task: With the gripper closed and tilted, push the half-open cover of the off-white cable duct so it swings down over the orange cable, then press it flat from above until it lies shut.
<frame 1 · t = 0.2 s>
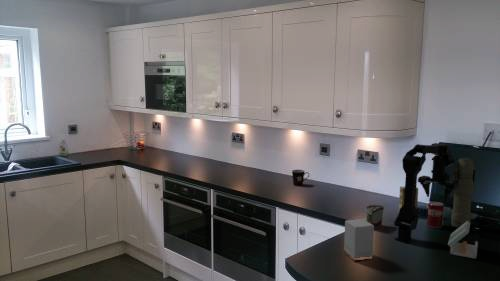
hand: (436, 198, 216), 15 cm above the worktop, tool pointing down, fingers open, 9 cm apart
candy box: (407, 214, 238), on the worktop
duct cover: (459, 233, 189), point 8 cm above the worktop, hinge at 50.0°
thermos: (460, 225, 221), on the worktop
supplement box: (357, 256, 183), on the worktop
food container: (371, 226, 220), on the worktop
coffee mug: (300, 185, 299), on the worktop
cable duct: (463, 250, 189), on the worktop
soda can: (434, 226, 220), on the worktop
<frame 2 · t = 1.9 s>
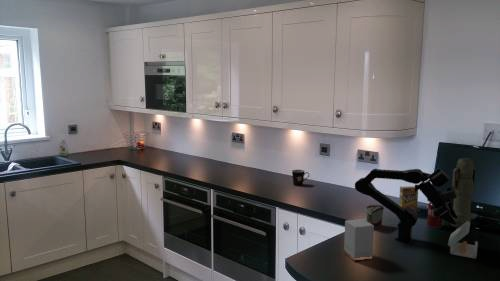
hand: (456, 221, 189), 13 cm above the worktop, tool tilted 45°, fingers open, 9 cm apart
nothing on the worktop moved.
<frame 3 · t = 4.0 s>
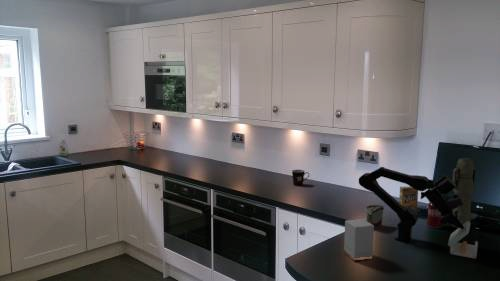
hand: (463, 228, 188), 10 cm above the worktop, tool tilted 45°, fingers closed, pressing on duct cover
duct cover: (459, 233, 189), point 7 cm above the worktop, hinge at 49.4°, touching gripper
everything else where it was.
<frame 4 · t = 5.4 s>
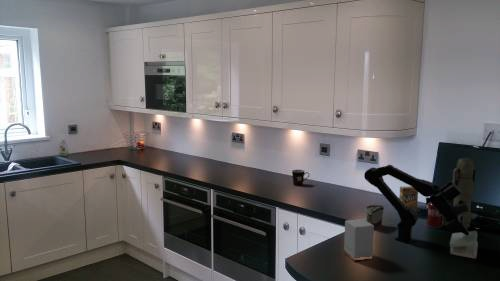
hand: (468, 234, 187), 8 cm above the worktop, tool tilted 45°, fingers closed
duct cover: (463, 238, 188), point 5 cm above the worktop, hinge at 18.2°
everything else where it was.
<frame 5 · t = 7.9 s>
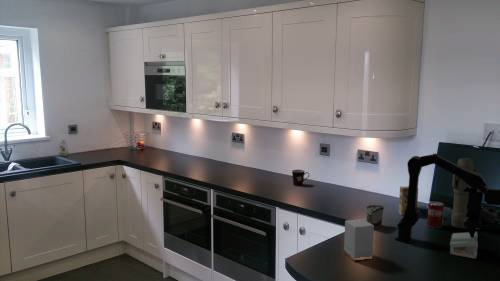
hand: (472, 237, 186), 7 cm above the worktop, tool pointing down, fingers closed, pressing on duct cover
duct cover: (463, 239, 188), point 5 cm above the worktop, hinge at 14.9°, touching gripper
everything else where it was.
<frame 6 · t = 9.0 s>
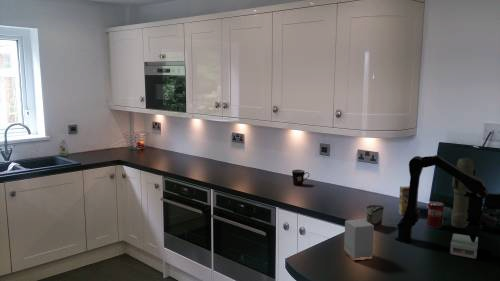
hand: (473, 241, 186), 5 cm above the worktop, tool pointing down, fingers closed, pressing on duct cover
duct cover: (464, 242, 188), point 4 cm above the worktop, hinge at 1.4°, touching gripper
everything else where it was.
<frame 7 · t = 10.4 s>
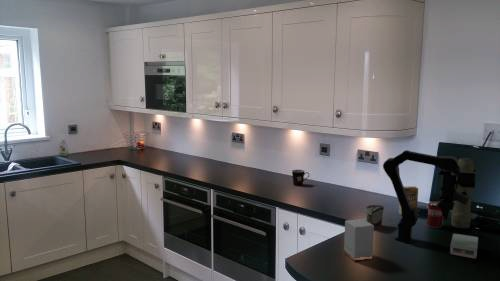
hand: (445, 219, 191), 13 cm above the worktop, tool pointing down, fingers closed
duct cover: (464, 242, 188), point 4 cm above the worktop, hinge at 1.3°
everything else where it was.
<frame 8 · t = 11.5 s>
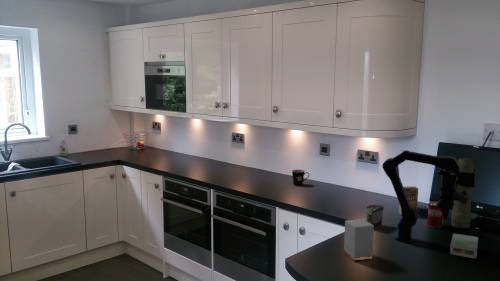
hand: (445, 219, 191), 13 cm above the worktop, tool pointing down, fingers closed
nothing on the worktop moved.
at the end: duct cover at +1° (first picture: +50°) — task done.
